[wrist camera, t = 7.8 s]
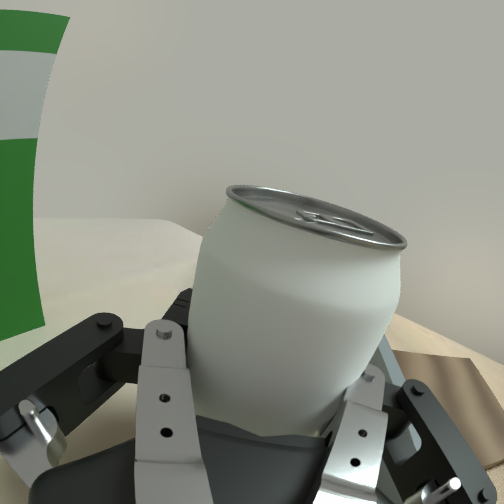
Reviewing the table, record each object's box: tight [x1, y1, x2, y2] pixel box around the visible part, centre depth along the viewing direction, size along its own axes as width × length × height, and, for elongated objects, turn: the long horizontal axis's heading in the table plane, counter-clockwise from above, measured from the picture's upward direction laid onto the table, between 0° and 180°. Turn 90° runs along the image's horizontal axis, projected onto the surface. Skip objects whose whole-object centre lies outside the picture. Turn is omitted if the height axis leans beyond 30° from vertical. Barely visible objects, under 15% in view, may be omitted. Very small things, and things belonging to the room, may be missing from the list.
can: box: [186, 185, 407, 437], centre depth 10 cm, size 6×6×12 cm
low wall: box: [370, 335, 421, 504], centre depth 16 cm, size 1×22×5 cm, turn 174°
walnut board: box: [392, 350, 504, 470], centre depth 18 cm, size 16×16×1 cm
